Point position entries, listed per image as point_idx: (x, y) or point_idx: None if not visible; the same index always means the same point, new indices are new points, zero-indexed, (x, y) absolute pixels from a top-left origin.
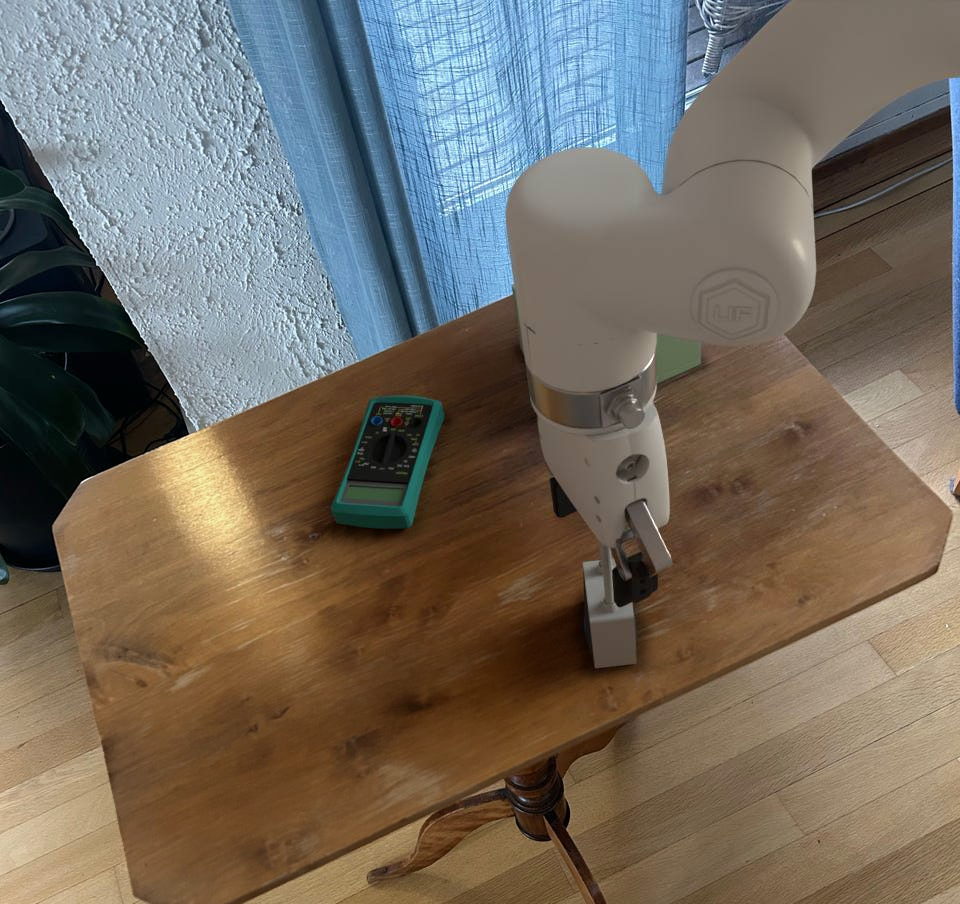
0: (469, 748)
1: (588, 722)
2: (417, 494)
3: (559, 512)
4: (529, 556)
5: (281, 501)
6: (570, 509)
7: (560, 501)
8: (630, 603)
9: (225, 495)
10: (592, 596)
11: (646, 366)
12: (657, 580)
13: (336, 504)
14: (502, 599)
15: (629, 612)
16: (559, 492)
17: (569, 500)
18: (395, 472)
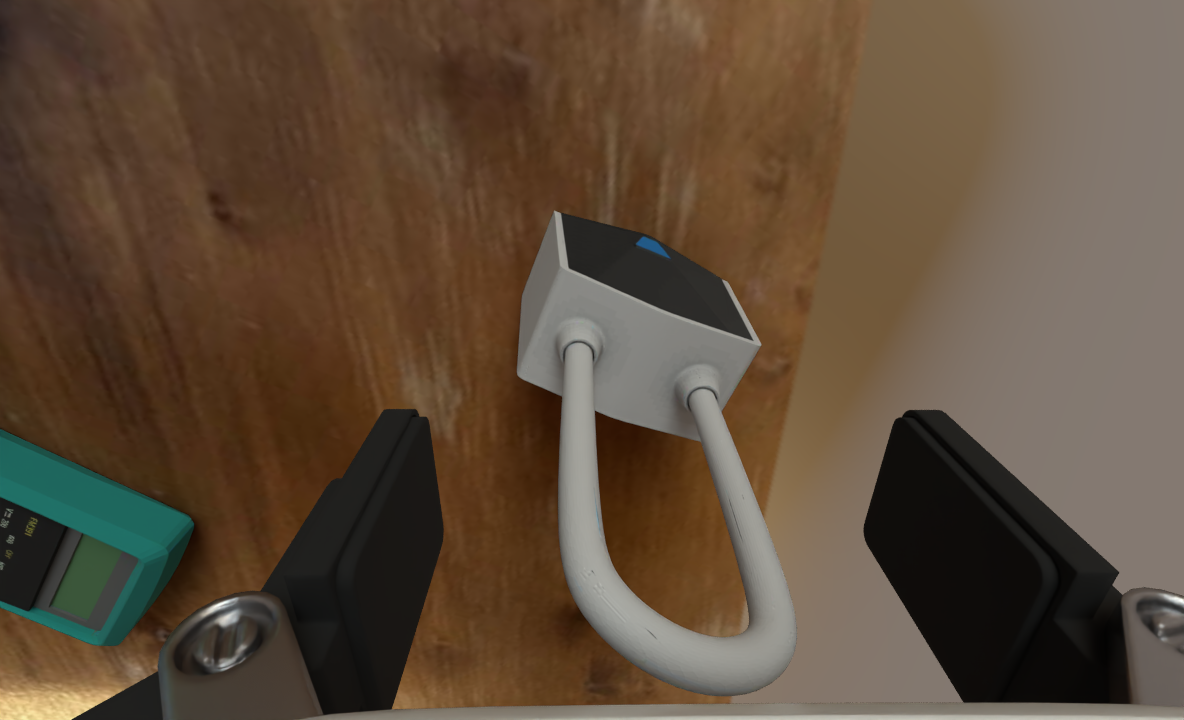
0: (699, 578)
1: (779, 416)
2: (102, 493)
3: (435, 559)
4: (352, 347)
5: (61, 654)
6: (434, 518)
7: (420, 605)
8: (723, 338)
9: (27, 710)
10: (645, 413)
11: None
12: (974, 441)
13: (103, 644)
14: (440, 434)
15: (744, 352)
16: (402, 657)
17: (418, 557)
18: (26, 536)
